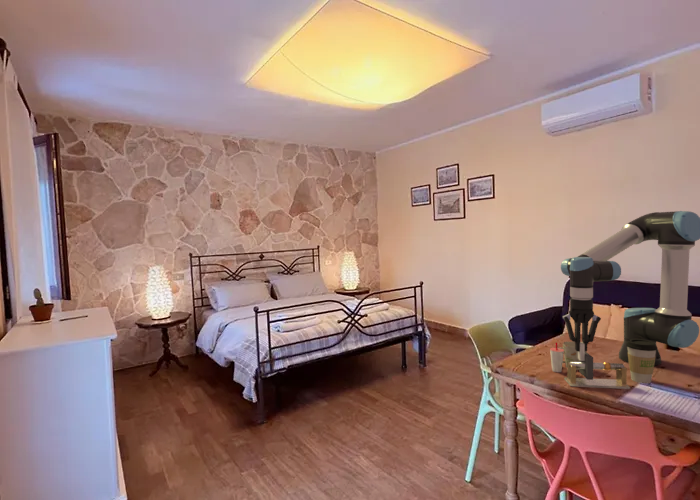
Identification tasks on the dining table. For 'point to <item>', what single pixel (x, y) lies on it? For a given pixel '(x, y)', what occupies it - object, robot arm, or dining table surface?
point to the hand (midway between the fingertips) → (581, 359)
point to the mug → (570, 353)
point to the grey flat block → (587, 367)
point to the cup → (556, 358)
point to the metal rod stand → (597, 383)
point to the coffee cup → (641, 359)
